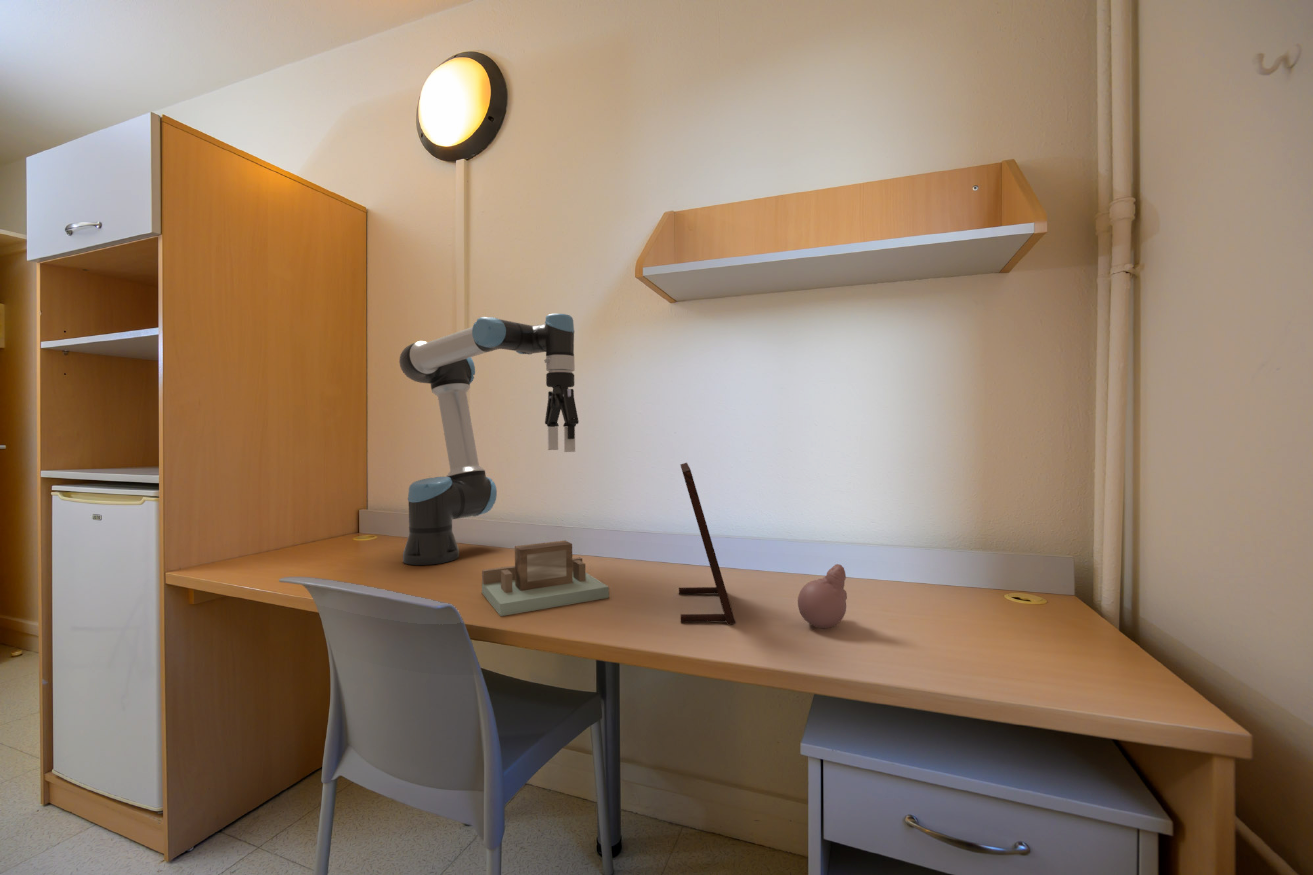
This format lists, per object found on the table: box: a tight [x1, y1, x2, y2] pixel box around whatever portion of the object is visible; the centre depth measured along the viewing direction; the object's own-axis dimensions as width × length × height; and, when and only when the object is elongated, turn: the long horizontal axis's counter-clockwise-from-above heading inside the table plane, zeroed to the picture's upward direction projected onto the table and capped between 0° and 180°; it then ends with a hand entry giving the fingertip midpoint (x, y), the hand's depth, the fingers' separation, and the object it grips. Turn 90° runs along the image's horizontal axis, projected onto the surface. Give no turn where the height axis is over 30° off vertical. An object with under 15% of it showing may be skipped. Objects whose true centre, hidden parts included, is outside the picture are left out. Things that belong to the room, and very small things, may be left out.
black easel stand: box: [678, 462, 736, 626], centre depth 117 cm, size 21×11×30 cm, turn 179°
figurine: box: [797, 563, 848, 629], centre depth 107 cm, size 9×11×12 cm
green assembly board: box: [481, 556, 610, 617], centre depth 127 cm, size 18×24×6 cm
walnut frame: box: [514, 539, 573, 591], centre depth 127 cm, size 5×12×9 cm, turn 119°
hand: (561, 450), depth 151 cm, fingers open, 13 cm apart
